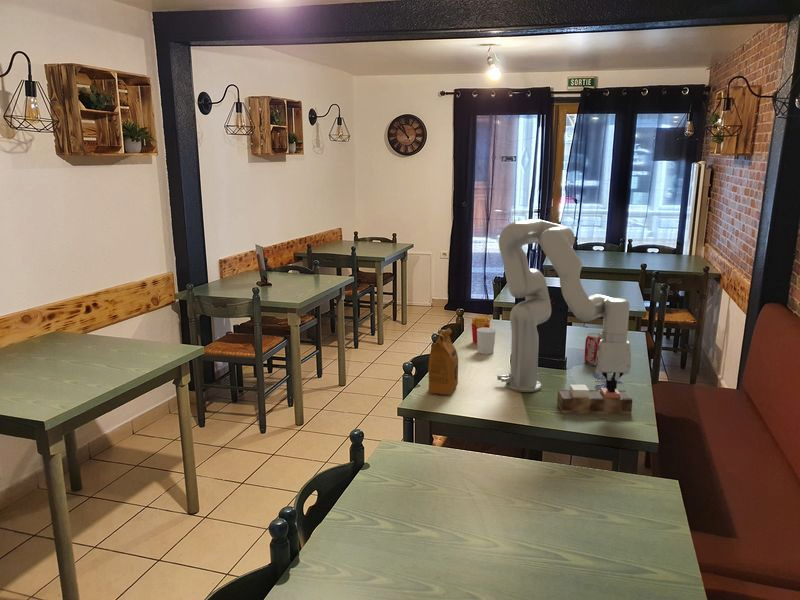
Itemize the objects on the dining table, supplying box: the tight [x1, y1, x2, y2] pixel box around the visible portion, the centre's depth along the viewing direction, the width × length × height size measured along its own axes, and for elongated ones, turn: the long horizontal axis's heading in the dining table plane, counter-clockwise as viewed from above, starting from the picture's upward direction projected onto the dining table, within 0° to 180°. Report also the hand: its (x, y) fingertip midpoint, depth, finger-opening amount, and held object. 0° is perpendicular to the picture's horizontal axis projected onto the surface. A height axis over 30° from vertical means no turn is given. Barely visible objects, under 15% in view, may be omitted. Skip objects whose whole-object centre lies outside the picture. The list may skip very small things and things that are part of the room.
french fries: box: [471, 316, 491, 344], centre depth 273 cm, size 8×4×12 cm, turn 71°
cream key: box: [569, 384, 590, 398], centre depth 199 cm, size 5×5×4 cm
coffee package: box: [427, 327, 459, 396], centre depth 214 cm, size 10×12×22 cm
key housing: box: [556, 389, 634, 415], centre depth 199 cm, size 22×8×5 cm, turn 87°
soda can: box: [583, 332, 602, 367], centre depth 244 cm, size 7×7×12 cm
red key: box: [600, 388, 620, 398], centre depth 198 cm, size 5×5×4 cm
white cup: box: [477, 327, 496, 355], centre depth 260 cm, size 8×8×10 cm
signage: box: [593, 372, 623, 390], centre depth 219 cm, size 28×1×10 cm
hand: (610, 390), depth 198 cm, fingers closed
